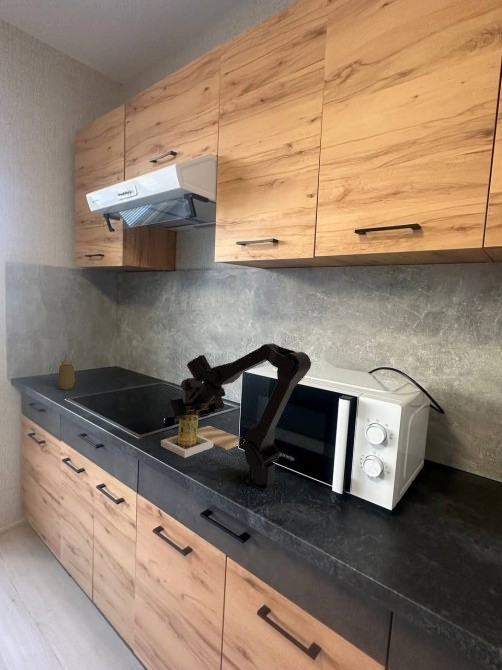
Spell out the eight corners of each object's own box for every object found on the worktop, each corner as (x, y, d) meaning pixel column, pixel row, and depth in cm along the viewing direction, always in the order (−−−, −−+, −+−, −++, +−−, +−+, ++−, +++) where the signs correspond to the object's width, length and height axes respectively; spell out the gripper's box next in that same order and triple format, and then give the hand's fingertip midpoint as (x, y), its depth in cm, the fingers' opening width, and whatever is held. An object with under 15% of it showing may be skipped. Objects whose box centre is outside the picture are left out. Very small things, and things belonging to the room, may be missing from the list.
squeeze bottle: (76, 386, 191) (76, 353, 189) (73, 390, 183) (74, 355, 182) (59, 386, 188) (59, 352, 187) (56, 390, 181) (56, 355, 179)
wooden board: (247, 441, 128) (247, 440, 128) (225, 450, 120) (226, 448, 120) (208, 427, 141) (208, 425, 141) (187, 433, 133) (187, 432, 133)
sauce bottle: (178, 451, 117) (180, 391, 116) (176, 443, 123) (179, 387, 122) (198, 449, 119) (200, 391, 117) (195, 442, 125) (198, 386, 123)
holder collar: (213, 447, 122) (213, 441, 122) (184, 457, 113) (184, 451, 112) (189, 436, 130) (189, 431, 130) (160, 446, 120) (161, 440, 120)
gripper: (221, 369, 121) (202, 393, 131) (171, 373, 109) (154, 400, 119) (234, 397, 116) (213, 420, 126) (183, 405, 104) (164, 430, 113)
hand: (187, 417), depth 121 cm, fingers open, 9 cm apart
